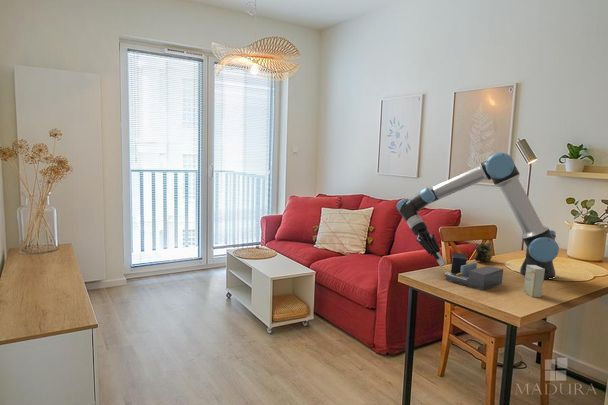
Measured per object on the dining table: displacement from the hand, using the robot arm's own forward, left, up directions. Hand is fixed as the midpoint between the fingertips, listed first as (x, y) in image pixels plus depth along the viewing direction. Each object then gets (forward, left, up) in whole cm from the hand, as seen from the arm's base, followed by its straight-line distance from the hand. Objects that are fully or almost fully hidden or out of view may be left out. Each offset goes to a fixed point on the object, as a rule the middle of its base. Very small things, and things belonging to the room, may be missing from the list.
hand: (443, 264), depth 199 cm
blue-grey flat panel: (-13, +2, -3) cm, 14 cm away
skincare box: (-40, -5, -4) cm, 40 cm away
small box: (-7, -1, -5) cm, 9 cm away
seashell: (+2, -40, -4) cm, 41 cm away
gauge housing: (-16, 0, -4) cm, 16 cm away
